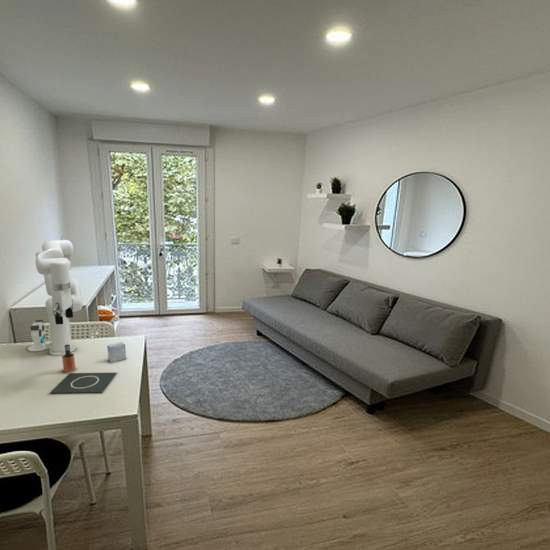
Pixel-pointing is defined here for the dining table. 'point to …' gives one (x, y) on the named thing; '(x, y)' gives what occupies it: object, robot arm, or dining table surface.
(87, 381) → the slate board
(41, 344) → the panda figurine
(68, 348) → the cylinder
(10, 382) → the dining table surface
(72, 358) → the pen cup
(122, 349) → the medicine box
